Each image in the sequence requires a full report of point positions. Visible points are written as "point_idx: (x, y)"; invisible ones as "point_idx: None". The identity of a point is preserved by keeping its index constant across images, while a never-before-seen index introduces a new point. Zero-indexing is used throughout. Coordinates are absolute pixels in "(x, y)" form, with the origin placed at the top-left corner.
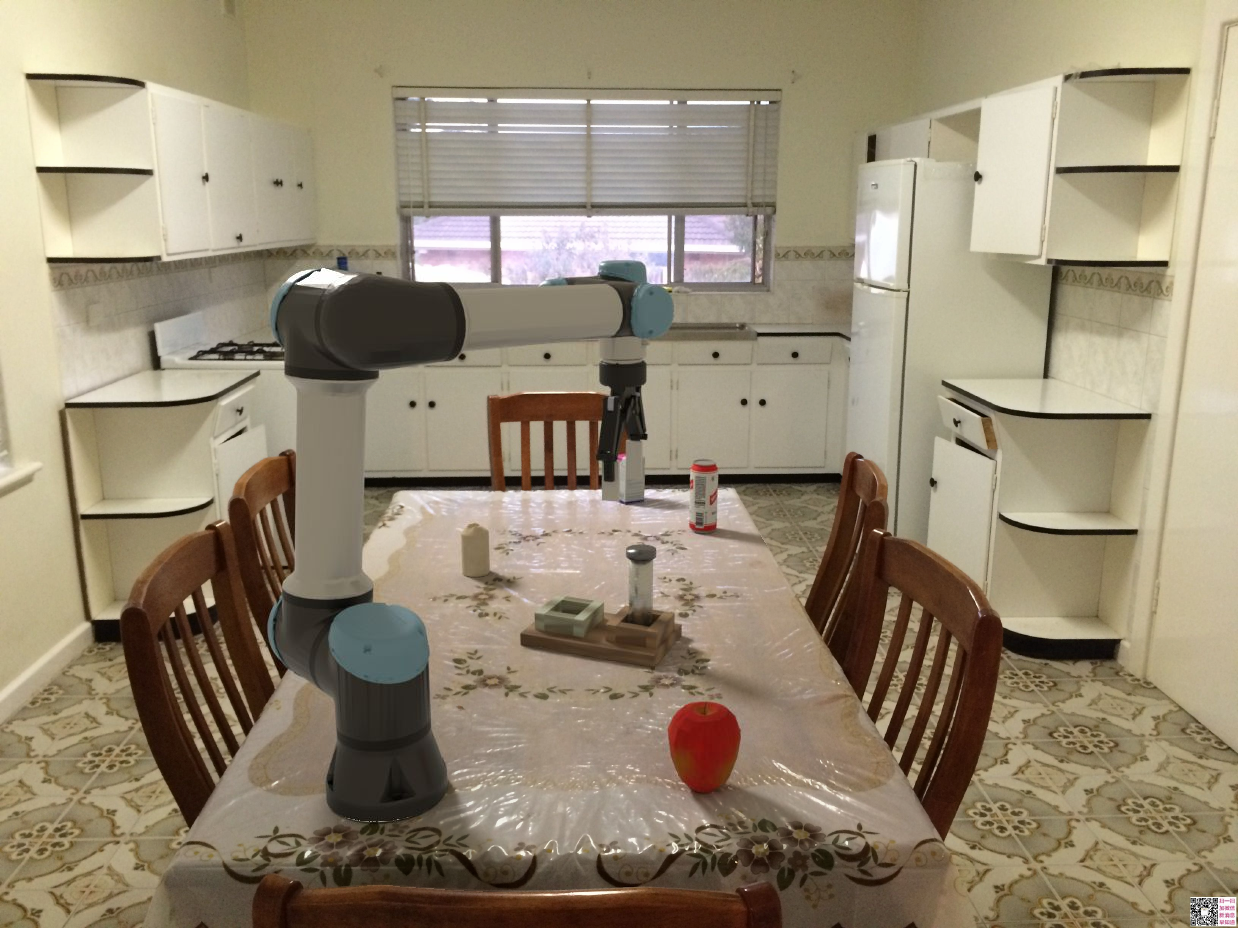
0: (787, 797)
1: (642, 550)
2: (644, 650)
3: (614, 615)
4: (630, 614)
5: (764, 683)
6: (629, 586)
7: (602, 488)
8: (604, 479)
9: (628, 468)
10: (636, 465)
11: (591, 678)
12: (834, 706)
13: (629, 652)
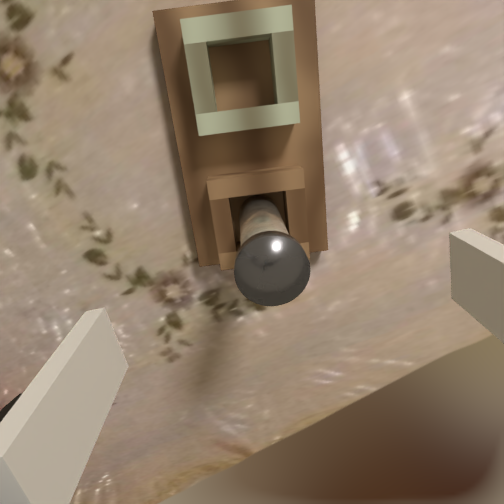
0: None
1: (265, 278)
2: (209, 246)
3: (314, 133)
4: (242, 214)
5: (233, 385)
6: (246, 225)
7: (64, 342)
8: (9, 406)
9: (478, 263)
10: (491, 310)
11: (119, 201)
12: (219, 454)
13: (193, 229)
